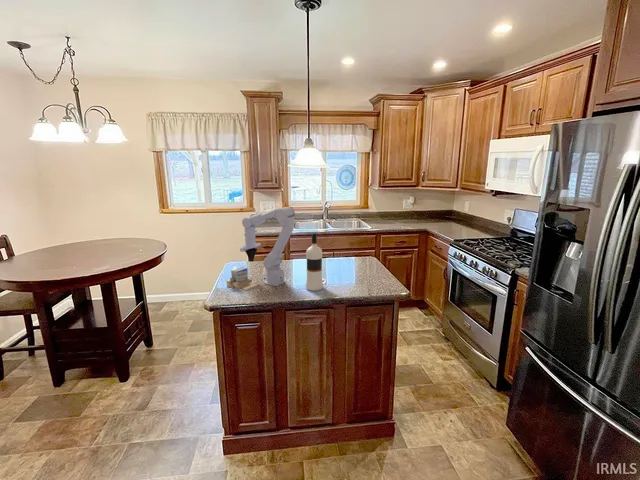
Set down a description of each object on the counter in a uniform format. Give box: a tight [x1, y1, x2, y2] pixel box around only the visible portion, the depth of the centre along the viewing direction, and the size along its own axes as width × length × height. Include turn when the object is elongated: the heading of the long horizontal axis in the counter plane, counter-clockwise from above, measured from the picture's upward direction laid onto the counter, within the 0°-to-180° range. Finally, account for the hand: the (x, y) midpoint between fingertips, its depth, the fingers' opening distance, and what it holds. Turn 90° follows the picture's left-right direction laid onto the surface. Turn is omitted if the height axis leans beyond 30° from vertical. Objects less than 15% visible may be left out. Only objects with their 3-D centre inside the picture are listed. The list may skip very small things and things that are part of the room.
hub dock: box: [226, 276, 260, 292], centre depth 175 cm, size 14×11×5 cm
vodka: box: [305, 232, 324, 292], centre depth 168 cm, size 9×9×30 cm
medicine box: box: [230, 266, 249, 283], centre depth 177 cm, size 8×4×9 cm, turn 144°
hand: (251, 261), depth 185 cm, fingers closed
